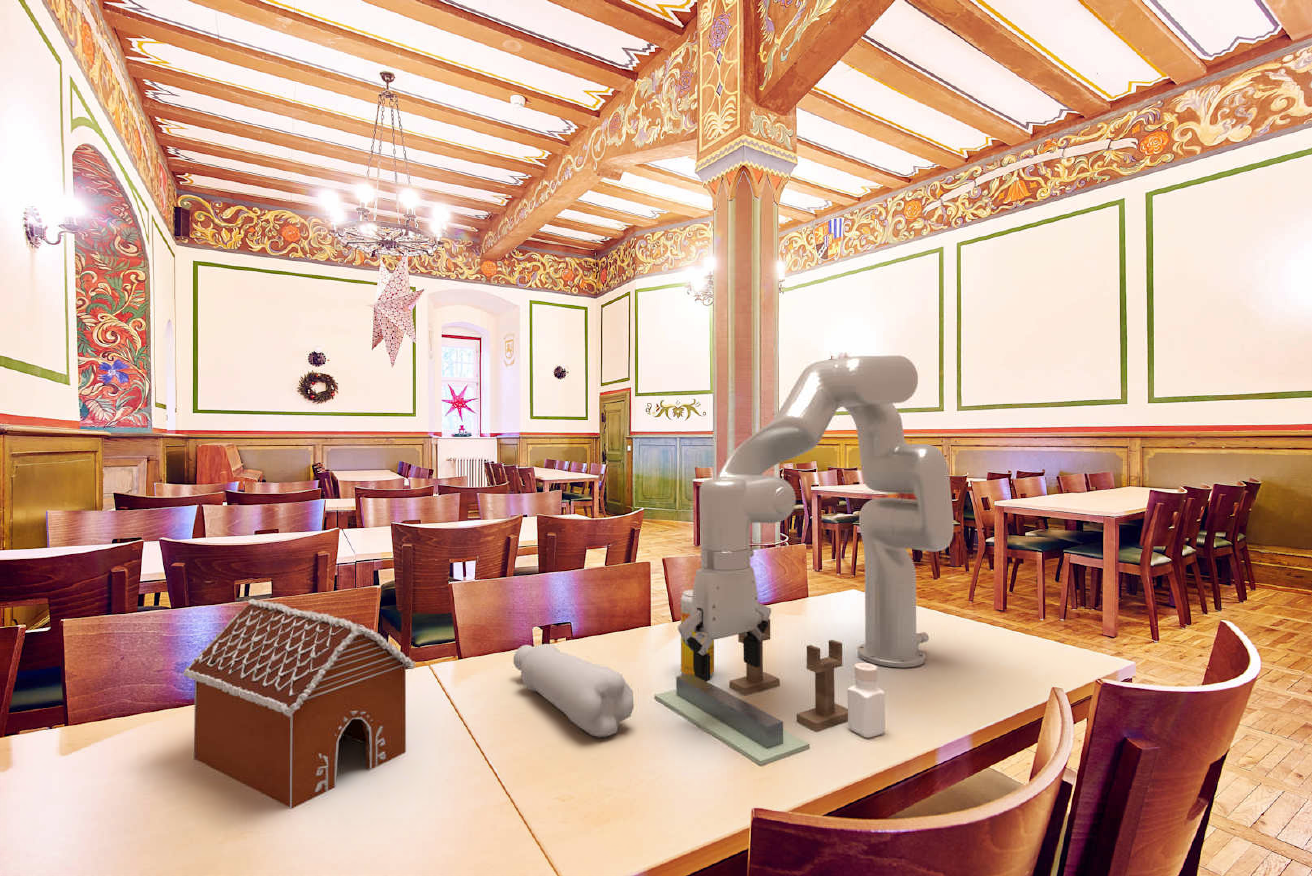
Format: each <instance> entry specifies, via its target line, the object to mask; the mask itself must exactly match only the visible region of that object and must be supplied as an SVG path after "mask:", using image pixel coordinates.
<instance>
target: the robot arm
mask: <svg viewBox="0 0 1312 876" xmlns="http://www.w3.org/2000/svg"><path fill="white" fill-rule="evenodd" d="M918 383H919V376H918V371H917V367H915V365H914V363H913V362H912V361H911V360H910V359H909V358H907V357H905V356H903V355H857V356H856V355H855V356H848V357H840V358H833V359H825V360H820V361H816V362H813V363H811V364H810V365H808V366H807V367H806V368H804V369H803V371H802V372H801V374H800V376H799V377H798V379H797V381H796V382H795V383H794V386H793V387H792V388H791V391H790V393H789V394H788V396H787V398H786V399H785V401H784V402H783V405H782V406H781V408H780V409H779V410H778V413H777V414H776V416H775V417H774V418H773V420H772V421H770V422H768V424H766V425H764V426H763V427H762V428H760V429H759V430H757V431H756V432H755V433H754V434H752V435H751V436H750V437H749V438H747V439H746V440H744V441H743V442H742V443H741V444H740V445H738V447H736V448H735V449H734V450H733V452H732V453H731V454H730V455H729V456H728V457H727V460H726V461H725V462H724V464H723V465H722V468H721V469H720V471H719V473H718V474H717V476H716V478H710V479H706V480H704V481H702V482H701V484H700V486H699V529H700V530H699V532H700V533H699V535H700V538H699V539H700V568H698V569H696V572H695V576H694V581H693V586H692V590H693V596H692V613H691V615H690V616H689V617H688V618H687V619H686V620H685V621H683V622H682V623H681V622H680V624H679V625H678V627H677V630H678V632H679V635H680V637H681V636H682V638H683V642H684V643H685V644H686V645H687V646H688V647H689V648H690V650H692V651H693V669H694V674H695V676H696V677H698V678H700V679H702V680H703V681H705V682H710V681H711V677H710V655H709V654H707V653H706V652H707V650H708V648H709V647H710V645H711V643H712V641H713V640H714V641H715V640H719V639H723V638H728V637H734V636H736V635H738V634H741V633H745V634H746V635H747V637H744V639H743V643H742V646H743V649H742V650H743V662H744V663H747V664H750V665H752V666H754V667H760V641H761V640H762V639H763V633H764V631H765V630H766V628H767V626H768V622H767V621H768V620H769V619H770V617H771V613H772V608H771V607H769V606H766V605H764V604H763V603H759V597H758V587H757V582H756V576H755V572H754V569H753V566H751V557H752V558H753V556H754V553H755V552H754V549H753V548H752V547H751V537H750V535H751V533H750V525H751V524H752V523H754V524H757V523H758V524H775V523H776V524H777V523H779V522H782V521H784V520H786V519H788V518H789V516H790V515H791V514H793V511H794V509H795V507H796V501H797V499H796V498H797V497H796V493H795V490H794V488H793V486H792V485H791V484H790V483H789V482H788V481H787V480H785V479H784V478H781V477H779V476H774V475H765V474H764V473H765V472H767V471H768V470H769V469H771V468H772V467H774V466H777V465H779V464H780V463H783V462H785V461H788V460H791V459H794V458H796V457H799V456H802V455H803V454H806V453H809V452H810V451H812V450H813V449H814V448H816V447H818V445H819V444H820V442H821V439H822V438H823V436H824V433H826V431H827V428H828V426H829V424H830V423H831V421H832V419H833V417H834V415H835V414H836V412H837V410H839V408H844V409H845V410H846V411H847V412H848V413H849V415H850V416H851V418H852V420H853V422H854V424H855V425H854V426H855V427H856V432H857V440H858V441H857V442H858V448H859V451H858V452H859V459H860V467H861V474H862V479H863V482H864V484H865V486H866V487H867V489H870V490H872V491H875V492H878V493H890V494H891V493H892V494H904V495H905V494H909V495H913V496H914V497H915V499H908V498H900V497H899V498H898V497H877V498H873V499H870V500H868V501H867V502H865V504H863V506H862V508H861V509H860V511H859V516H858V523H859V531H860V535H861V539H862V545H863V556H864V616H865V617H864V618H865V619H864V623H865V629H864V630H865V632H864V633H865V636H864V637H865V640H864V641H865V643H861V644H860V645H859V646H857V653H856V654H857V655H858V657H859V658H861V659H862V660H864V661H865V662H867V663H870V664H873V665H879V666H883V667H884V666H885V667H891V668H914V667H918V666H921V665H923V664H924V663H925V662H926V655H925V653H924V652H923V651H922V650H920V649H919V645H920V644H923V643H927V642H928V641H929V640H930V638H929V634H928V633H927V632H924V631H923V632H922V631H921V632H919V633H918V632H917V573H916V572H917V571H916V566H915V563H914V561H913V559H912V557H911V555H910V554H909V551H908V550H907V549H911V550H918V551H923V552H924V551H925V552H926V551H927V552H940V551H943V550H946V549H947V548H948V547H949V546H950V544H951V542H952V541H953V537H954V529H955V527H954V526H955V525H954V511H953V502H952V501H953V499H952V490H951V478H950V472H949V471H950V470H949V465H948V461H947V459H946V457H945V455H944V454H943V452H942V451H941V450H940V449H939V448H938V447H936V446H934V445H932V444H926V443H925V444H924V443H906V440H905V435H904V434H905V433H904V428H903V421H902V417H901V414H900V412H899V410H898V409H897V408H896V406H895V405H894V404H900V403H905V402H906V401H908V400H909V399H910V398H911V397H913V396H914V394H915V392H916V390H917V388H918ZM763 474H764V475H763ZM692 630H693V632H695V633H696V635H695V636H694V637H693V634H692ZM704 637H705V638H704ZM703 638H704V640H703V641H702V639H703ZM701 641H702V643H701ZM700 643H701V644H700Z"/></svg>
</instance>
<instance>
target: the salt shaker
mask: <svg viewBox="0 0 1312 876" xmlns="http://www.w3.org/2000/svg"><path fill="white" fill-rule="evenodd" d="M885 696H886V694H885V692H884V691H883V690H882V689H881V688H880V687H878V667H877V665H876V664H874V663H870V662H858V663H855V664H854V684H852V685H851V686H849V687H848V688H847V709H848V721H847V727H848V729H849V730H850V731H852V732H854V733H856V734H858V735H859V736H861V737H863V738H870V739H871V738H872V737H877V736H879V735H883V734H884V733H885V731H886V701H885V699H886V697H885Z"/></svg>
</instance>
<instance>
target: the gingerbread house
mask: <svg viewBox="0 0 1312 876" xmlns="http://www.w3.org/2000/svg"><path fill="white" fill-rule="evenodd" d="M243 608H244V609H243V610H242V611H239V612H237V613H236V615H235V616H234V617H233V618H231V619H230V620H229V621H228V623H227V624H226V626H225V627H222V631H221V632H218V633H216V634H215V637H214V639H212V641H211V642H210V643H208V644H207V646H206V648H204V649H203V650H200V653H199V655H198V657H196V658H194V659H193V660H192V662H191V664H190V665H188V666H186V667H184V668H185V669H184V671H182V672H183V673H182V674H183V676H185V677H186V678H189V679H190V680H194V712H193V713H194V722H193V723H194V724H193V728H194V732H193V736H194V737H193V740H194V741H193V760H194V761H195V760H196V761H198V762H200V763H201V764H204V765H205V766H208V767H210V768H211V769H213V770H215V771H217V772H219V773H221V774H223V775H225V776H227V777H229V778H231V779H232V780H234V781H237V782H239V783H241V784H243V785H244V786H247V787H249V788H251V789H252V790H254V789H255V791H256V790H257V792H259V793H261V794H263V795H264V794H265V796H267V797H269V798H270V799H273V800H274V801H276V802H278V803H280V804H282V805H284V806H286V807H288V808H289V809H290V810H292V809H294V808H296V807H298V806H300V805H302V804H304V803H306V802H308V801H311V800H313V799H314V798H316V797H318V796H321V795H322V794H324V793H327V792H329V791H331V790H333V789H335V788H336V786H337V772H338V754H339V742H340V741H339V740H340V739H341V737H342V736H344V737H347V738H350V739H352V740H355V741H358V742H360V743H363V744H366V749H365V750H366V751H365V752H366V753H365V754H366V755H365V756H366V757H365V758H366V759H365V760H366V761H365V768H366V769H369V771H372V770H374V769H375V768H377V767H379V766H381V765H383V764H385V763H387V762H390V761H391V760H393V759H395V758H397V757H399V756H402V755H403V754H405V753H406V751H407V742H406V741H407V739H406V738H407V737H406V736H407V733H406V732H407V725H406V724H407V721H406V720H407V719H406V717H407V713H406V711H407V709H406V708H407V705H406V704H407V703H406V702H407V699H406V697H407V696H406V694H407V692H406V690H407V689H406V688H407V687H406V685H407V684H406V679H407V678H406V675H407V674H406V673H407V671H406V669H409V670H410V669H411V670H414V668H415V666H416V661H415V660H414V661H412V659H411V658H410V657H409V656H407V657H406V654H404V652H401V651H400V650H399V649H398V647H397V646H395V645H394V644H393V643H392V642H388V641H387V639H386V638H385V637H383V636H382V635H381V634H380V633H377V632H376V631H374V630H373V629H370V628H369V627H365V626H364V625H363V624H359V623H355V622H352V621H351V620H347V619H345V618H344V617H343V618H339V617H334V615H329V613H326V614H325V613H323V612H322V613H318V612H317V611H312V610H310V611H308V610H300V609H297V608H296V607H295V608H291V607H290V606H287V605H284V604H283V603H278V602H276V603H274V601H272V602H270V601H263V600H259V601H257V599H254V598H251V599H248V605H246V606H245V607H243ZM406 667H407V668H406Z"/></svg>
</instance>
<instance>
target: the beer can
mask: <svg viewBox="0 0 1312 876" xmlns="http://www.w3.org/2000/svg"><path fill="white" fill-rule="evenodd" d="M692 596H693V589H688V590H685V591H683V592H682V596H681V597H680V624H681V623H682V622H683V621H685V620H686V619H687V618H688V617H689V616H690V615H691V613H692ZM692 634H693V637H694V636H695V635H696V633H695V632H693V630H692ZM704 638H705V637H704ZM704 638H703V639H702V641H703V640H704ZM702 641H701V643H702ZM701 643H700V644H701ZM706 653H707V654H709V655H710V678H711V677H712V674H714V672H715V639H714V640H713V641H712V643H711V645H710V647H709V648H708V650H707V652H706ZM680 672H681V673H682V674H683V675H686V674H690V673H691V674H693V675H695V674H694V669H693V651H692V650H690V648H689V647H688V646H687V645H686V644H685V643H684V642H683V638H682V636H681V635H680Z"/></svg>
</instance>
